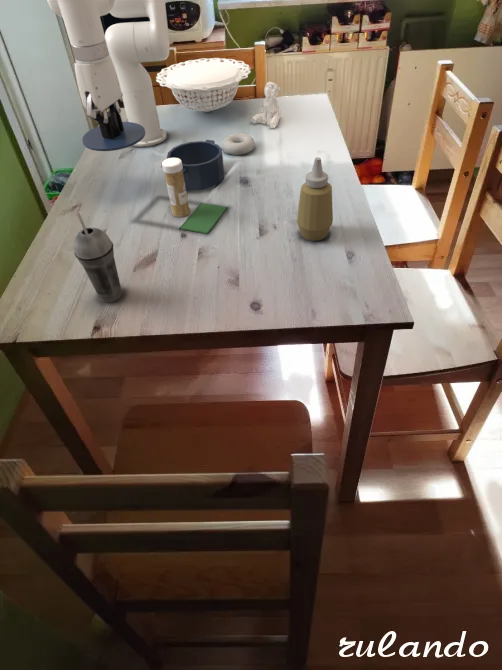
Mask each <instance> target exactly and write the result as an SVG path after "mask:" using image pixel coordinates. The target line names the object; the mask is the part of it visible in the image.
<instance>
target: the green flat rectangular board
mask: <svg viewBox="0 0 502 670" xmlns="http://www.w3.org/2000/svg"><path fill="white" fill-rule="evenodd" d="M227 210H228V206H225V205H224V206H223V205H219V204H213V203H212V204H211V203H204V202H200V203H199V205H198V206H197V207H196V208H195V209H194V211H193V212H192V213H191V214H189V216H188V217H187V219H186V220H185V221H184V222H183V223H182V224H181V226H180V227H179V228H178V230H182V231H189V232H194V233H197V234H198V233H200V234H205V235H209V233H210V231H211V230H212V229H213V228H214V226H215V225H216V224H217V222H218V221H219V220H220V219H221V217H223V215H224V213H225V212H226V211H227Z"/></svg>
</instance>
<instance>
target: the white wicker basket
mask: <svg viewBox="0 0 502 670" xmlns="http://www.w3.org/2000/svg"><path fill="white" fill-rule="evenodd" d="M251 70H252V69H251V67H250V65H249V64H246V63H245V61H243V60H236V59H234V58H226V57H224V58H221V57H213V58H205V57H204V58H203V57H202V58H198V59H197V58H196V59H189V60H185V61H183V62H182V61H181V62H179V63H174V64H171V65H170V66H167V67H164V68H162V69H161V70H160V71H159V72H157V74H156V76H155V81H156V82H157V83H158V84H159V86H160V87H167V88H168V89H170V90H171V93H172V95H173V96H174V98H175V100H176V101H177V102H178V103H179V104H180V106H182V107H184V108H185V109H188V110H191V111H197V112H205V113H210V112H211V111H214V110H218V109H221V108H225V107H226V106H228V105H229V104H230V103H231V102H232V101H233V100H234V99H235V96H236V94H237V91H238V89H239V83H240V82H241V81H242V80H245V79H248V78H249V76H248V75H250V74H251V73H252V71H251ZM185 96H186V97H185Z"/></svg>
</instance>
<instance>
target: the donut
mask: <svg viewBox="0 0 502 670" xmlns="http://www.w3.org/2000/svg"><path fill="white" fill-rule="evenodd" d="M255 146H256V141H255V138H254V137H253V136H252V135H250V134H248V133H242V132H239V133H232V134H230V135H227V136H226V137H225V138H224V139H223V140H222V142H221V148H222V151H224V152H225V153H227V154H229V155H233V156H243V155H246V154H248V153H250V152H251V151H252V150H254V148H255Z"/></svg>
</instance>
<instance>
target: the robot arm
mask: <svg viewBox="0 0 502 670" xmlns="http://www.w3.org/2000/svg"><path fill="white" fill-rule="evenodd" d="M46 2H47V4H48V8H49V9H50V10H51V11H52V13H54V15H56V16H58V17H61V18H62V20H63V23H64V24H63V25H64V27H65V30H66V33H67V37H68V40H69V44H70V46H71V50H72V53H73V56H74V60H75V62H74V63H73V64H74V71H75V72H74V73H75V78H76V83H77V88H78V93H79V96H80V100H81V103H82V106H83V108H84V109H85V110H86V117H88V118H90V119H93V120H95V122H96V123H98V126H99V127H100V130H101V134H102V137H103V138H108V139H114V133H113V130H112V126H111V123H110V122H108V117H107V111H113V112H115V113H116V116H117V120H118V124H119V128H120V131H124V127H123V124H122V122H123V119H122V117H121V114H122V109H121V104H122V102H123V106H124V110H125V115H126V118H127V122H133V123H137V124H140V125H141V126H143V127H144V129H145V136H144V138H143V139H142V140H141V141H140V142H138V143H136V144H134V145H132V146H133V147H138V148H146V147H152V146H156V145H159V144H161V143H163V142H164V141H165V140H166V139H167V138H168V134H167V131H166V130H165V129H163V128H161V124H160V119H159V114H158V113H159V112H158V109H157V102H156V98H155V92H154V89H153V82H152V78H151V76H150V73H149V72H148V71H147V70H146V68H145V66H143V64H142V63H152V62H162V61H166V60H167V59H168V58H169V55H170V51H171V49H170V35H169V27H168V26H169V25H168V18H167V17H168V16H167V9H166V0H46ZM108 14H110V15H111V16H112V17H114V18H119V19H132V18H149V20H148V21H130V22H118V23H115V24H112V25H110V26H108V27H107V29H106V30H105V31H104V27H103V24H102V20H101V17H103V16H107V15H108ZM101 114H102V115H101Z"/></svg>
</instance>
